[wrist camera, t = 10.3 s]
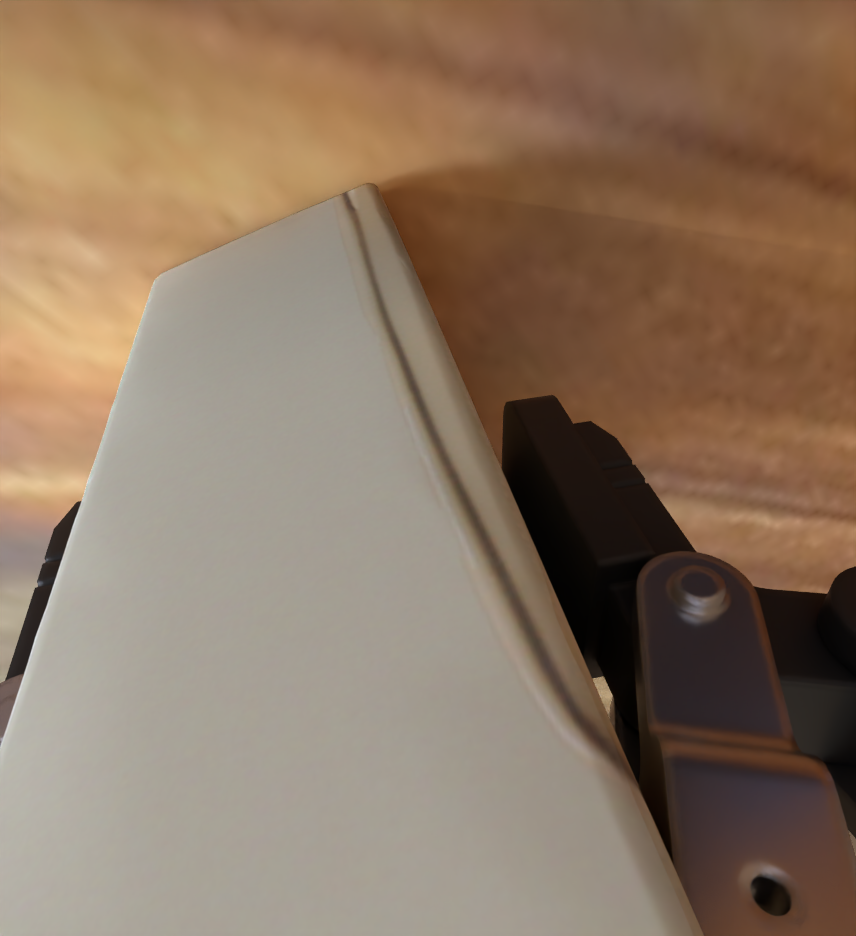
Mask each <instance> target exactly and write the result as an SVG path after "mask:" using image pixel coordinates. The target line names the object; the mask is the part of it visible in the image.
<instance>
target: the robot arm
mask: <svg viewBox="0 0 856 936" xmlns="http://www.w3.org/2000/svg"><path fill="white" fill-rule="evenodd" d="M502 471H503V474H504V476H505V478H506V481H507V483H508V485H509V487H510V490H511V492H512V494H513V497H514V499H515V501H516V504H517V506H518V508H519V511H520V513H521V515H522V517H523V520H524V522H525V524H526V527H527V529H528V531H529V534H530V536H531V538H532V541H533V543H534V545H535V547H536V550H537V552H538V554H539V557H540V559H541V561H542V564H543V566H544V568H545V571H546V573H547V575H548V578H549V580H550V582H551V585H552V587H553V589H554V592H555V594H556V596H557V598H558V601H559V603H560V605H561V608H562V610H563V612H564V615H565V617H566V619H567V622H568V624H569V626H570V629H571V631H572V633H573V636H574V638H575V640H576V643H577V645H578V647H579V649H580V652H581V654H582V656H583V659H584V661H585V663H586V666H587V668H588V670H589V673H590V675H591V677H592V678H597V677H602V676H604V678H605V680H606V682H607V684H608V686H609V689H610V691H611V693H612V695H613V697H612V701H611V706H610V721H611V724H612V726H613V728H614V731H615V733H616V735H617V738H618V740H619V742H620V744H621V747H622V749H623V751H624V754H625V756H626V758H627V761H628V763H629V765H630V767H631V770H632V772H633V774H634V777H635V779H636V781H637V783H638V786H639V788H640V790H641V793H642V795H643V797H644V799H645V802H646V804H647V806H648V809H649V811H650V813H651V816H652V818H653V820H654V822H655V825H656V827H657V829H658V832H659V834H660V836H661V838H662V841H663V843H664V845H665V848H666V850H667V852H668V854H669V857H670V859H671V861H672V864H673V866H674V868H675V870H676V873H677V875H678V877H679V880H680V882H681V884H682V887H683V889H684V891H685V893H686V896H687V898H688V900H689V903H690V905H691V907H692V909H693V912H694V914H695V916H696V919H697V921H698V923H699V925H700V928H701V930H702V932H703V935H704V936H856V856H855V852H854V849H853V845H852V842H851V839H850V835H849V831H850V832H851V833H852V834H853V836H854V837H855V838H856V567H852V568H849V569H847V570H845V571H843V572H842V573H840V574H839V575H838V576H837V577H836V578H835V580H834V581H833V583H832V585H831V587H830V589H829V592H828V594H822V593H809V592H797V591H785V590H772V589H765V588H759V587H754V586H753V585H752V584H751V582H750V581H749V580H748V579H747V578H746V577H745V576H744V575H743V574H742V573H741V572H740V571H739V570H737V569H736V568H734V567H733V566H731V565H730V564H728V563H726V562H724V561H722V560H720V559H718V558H715V557H713V556H710V555H706V554H702V553H697V552H696V551H695V550H694V548H693V547H692V545H691V544H690V542H689V541H688V540H687V538H686V537H685V535H684V534H683V532H682V531H681V530H680V528H679V527H678V525H677V524H676V522H675V521H674V520H673V518H672V517H671V515H670V514H669V512H668V511H667V510H666V508H665V507H664V505H663V504H662V502H661V501H660V500H659V498H658V497H657V495H656V494H655V492H654V491H653V490H652V488H651V487H650V485H649V484H648V483H645V478H644V477H643V475H642V474H641V472H640V471H639V470H638V468H637V467H636V465H633V464H632V460H631V458H630V457H629V455H628V454H627V453H626V451H625V450H624V448H623V447H622V445H621V444H620V443H619V441H618V440H617V438H615V437H614V436H612V435H611V434H609V433H608V432H606V431H605V430H603V429H602V428H600V427H599V426H597V425H596V424H594V423H593V422H591V421H588V422H582V423H575V424H573V423H572V421H571V419H570V418H569V416H568V415H567V413H566V412H565V410H564V408H563V407H562V405H561V404H560V402H559V401H558V399H557V398H556V397H555V396H554V395H549V396H542V397H536V398H529V399H522V400H516V401H509V402H506V404H505V406H504V412H503V446H502ZM81 502H82V501H80V502H77V503H76V504H75V505H74V506H73V507H72V509H71V510H70V511H69V512H68V513H67V514H66V516H65V517H64V518H63V519H62V520H61V521H60V523H59V524H58V525H57V526H56V527H55V528H54V531H53V534H52V537H51V540H50V543H49V546H48V549H47V552H46V556H45V560H46V563H43V565H42V568H41V571H40V574H39V577H38V580H37V583H38V587H37V588H35V590H34V593H33V596H32V599H31V602H30V605H29V609H28V612H27V615H26V618H25V621H24V624H23V627H22V630H21V633H20V637H19V640H18V643H17V646H16V649H15V652H14V655H13V658H12V662H11V665H10V668H9V671H8V674H7V677H6V680H5V681H4V682H2V683H0V746H1V743H2V740H3V737H4V734H5V731H6V728H7V725H8V722H9V719H10V716H11V713H12V709H13V706H14V703H15V700H16V697H17V694H18V691H19V688H20V685H21V682H22V679H23V676H24V673H25V670H26V667H27V664H28V660H29V657H30V654H31V650H32V647H33V644H34V640H35V637H36V634H37V631H38V629H39V626H40V623H41V620H42V618H43V615H44V612H45V609H46V607H47V604H48V600H49V597H50V594H51V591H52V588H53V585H54V582H55V579H56V576H57V573H58V570H59V567H60V564H61V561H62V558H63V555H64V552H65V548H66V545H67V542H68V539H69V536H70V533H71V530H72V527H73V524H74V521H75V518H76V516H77V513H78V510H79V507H80V504H81ZM848 830H849V831H848Z"/></svg>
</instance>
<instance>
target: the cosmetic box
mask: <svg viewBox="0 0 856 936" xmlns="http://www.w3.org/2000/svg"><path fill="white" fill-rule="evenodd" d="M0 936H704V935H703V932H702V930H701V928H700V925H699V923H698V921H697V919H696V916H695V914H694V912H693V909H692V907H691V905H690V903H689V900H688V898H687V896H686V893H685V891H684V889H683V887H682V884H681V882H680V880H679V877H678V875H677V873H676V870H675V868H674V866H673V864H672V861H671V859H670V857H669V854H668V852H667V850H666V848H665V845H664V843H663V841H662V838H661V836H660V834H659V832H658V829H657V827H656V825H655V822H654V820H653V818H652V816H651V813H650V811H649V809H648V806H647V804H646V802H645V799H644V797H643V795H642V793H641V790H640V788H639V786H638V783H637V781H636V779H635V777H634V774H633V772H632V770H631V767H630V765H629V763H628V761H627V758H626V756H625V754H624V751H623V749H622V747H621V744H620V742H619V740H618V738H617V735H616V733H615V731H614V728H613V726H612V724H611V721H610V719H609V717H608V714H607V712H606V710H605V707H604V705H603V703H602V700H601V698H600V696H599V694H598V691H597V689H596V687H595V684H594V682H593V680H592V677H591V675H590V673H589V670H588V668H587V666H586V663H585V661H584V659H583V656H582V654H581V652H580V649H579V647H578V645H577V643H576V640H575V638H574V636H573V633H572V631H571V629H570V626H569V624H568V622H567V619H566V617H565V615H564V612H563V610H562V608H561V605H560V603H559V601H558V598H557V596H556V594H555V592H554V589H553V587H552V585H551V582H550V580H549V578H548V575H547V573H546V571H545V568H544V566H543V564H542V561H541V559H540V557H539V554H538V552H537V550H536V547H535V545H534V543H533V541H532V538H531V536H530V534H529V531H528V529H527V527H526V524H525V522H524V520H523V517H522V515H521V513H520V511H519V508H518V506H517V504H516V501H515V499H514V497H513V494H512V492H511V490H510V487H509V485H508V483H507V481H506V478H505V476H504V474H503V471H502V469H501V467H500V464H499V462H498V460H497V457H496V455H495V453H494V450H493V448H492V446H491V444H490V441H489V439H488V437H487V434H486V432H485V430H484V427H483V425H482V423H481V420H480V418H479V416H478V413H477V411H476V409H475V407H474V404H473V402H472V400H471V397H470V395H469V393H468V390H467V388H466V386H465V383H464V381H463V379H462V377H461V374H460V372H459V370H458V367H457V365H456V363H455V360H454V358H453V356H452V354H451V351H450V349H449V347H448V344H447V342H446V340H445V337H444V335H443V333H442V330H441V328H440V326H439V324H438V321H437V319H436V317H435V314H434V312H433V310H432V308H431V305H430V303H429V301H428V298H427V296H426V294H425V291H424V289H423V287H422V285H421V282H420V280H419V278H418V275H417V273H416V271H415V268H414V266H413V264H412V262H411V259H410V257H409V255H408V253H407V250H406V248H405V246H404V244H403V241H402V239H401V237H400V235H399V232H398V230H397V228H396V226H395V223H394V221H393V219H392V217H391V214H390V212H389V210H388V208H387V206H386V204H385V202H384V199H383V197H382V195H381V193H380V191H379V189H378V187H377V186H376V185H375V184H372V183H367V184H364V185H362V186H359V187H357V188H355V189H352V190H350V191H348V192H345V193H343V194H340V195H338V196H336V197H333V198H331V199H328V200H326V201H324V202H321V203H319V204H317V205H314V206H312V207H309V208H307V209H305V210H302V211H300V212H297V213H295V214H293V215H290V216H288V217H286V218H284V219H281V220H279V221H277V222H275V223H272V224H270V225H268V226H266V227H263V228H261V229H259V230H257V231H254V232H252V233H250V234H248V235H245V236H243V237H241V238H239V239H236V240H234V241H232V242H230V243H227V244H225V245H223V246H221V247H218V248H216V249H214V250H212V251H210V252H207V253H205V254H203V255H201V256H199V257H196V258H194V259H192V260H190V261H188V262H185V263H183V264H181V265H179V266H177V267H174V268H172V269H170V270H168V271H166V272H163V273H161V274H160V275H159V276H158V277H157V278H156V279H155V280H154V283H153V286H152V289H151V291H150V295H149V298H148V301H147V304H146V307H145V310H144V313H143V316H142V319H141V322H140V325H139V328H138V331H137V334H136V337H135V340H134V343H133V346H132V349H131V352H130V355H129V358H128V361H127V364H126V367H125V370H124V373H123V376H122V379H121V382H120V385H119V388H118V392H117V395H116V398H115V401H114V403H113V405H112V408H111V412H110V415H109V419H108V422H107V425H106V429H105V432H104V435H103V438H102V441H101V444H100V447H99V450H98V453H97V456H96V459H95V462H94V465H93V468H92V470H91V473H90V476H89V479H88V482H87V485H86V489H85V493H84V496H83V499H82V502H81V504H80V507H79V510H78V513H77V516H76V518H75V521H74V524H73V527H72V530H71V533H70V536H69V539H68V542H67V545H66V548H65V552H64V555H63V558H62V561H61V564H60V567H59V570H58V573H57V576H56V579H55V582H54V585H53V588H52V591H51V594H50V597H49V600H48V604H47V607H46V609H45V612H44V615H43V618H42V620H41V623H40V626H39V629H38V631H37V634H36V637H35V640H34V644H33V647H32V650H31V654H30V657H29V660H28V664H27V667H26V670H25V673H24V676H23V679H22V682H21V685H20V688H19V691H18V694H17V697H16V700H15V703H14V706H13V709H12V713H11V716H10V719H9V722H8V725H7V728H6V731H5V734H4V737H3V740H2V743H1V746H0Z"/></svg>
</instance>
